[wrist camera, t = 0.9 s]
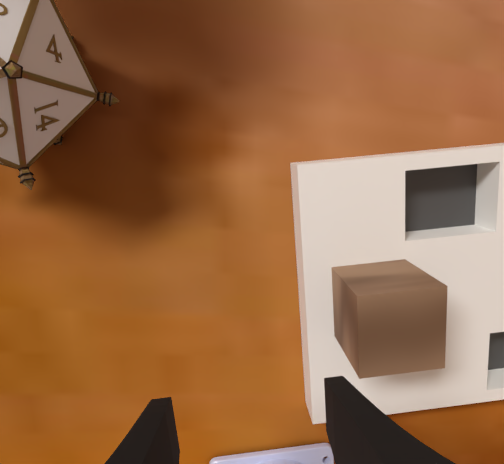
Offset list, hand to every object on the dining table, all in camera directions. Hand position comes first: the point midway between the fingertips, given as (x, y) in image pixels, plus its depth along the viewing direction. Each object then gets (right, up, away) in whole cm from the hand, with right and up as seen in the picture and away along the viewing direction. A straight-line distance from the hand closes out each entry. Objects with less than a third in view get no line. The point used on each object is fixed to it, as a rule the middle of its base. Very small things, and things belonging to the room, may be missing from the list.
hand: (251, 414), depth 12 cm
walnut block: (+6, +2, +9) cm, 11 cm away
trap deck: (+12, +3, +11) cm, 17 cm away
